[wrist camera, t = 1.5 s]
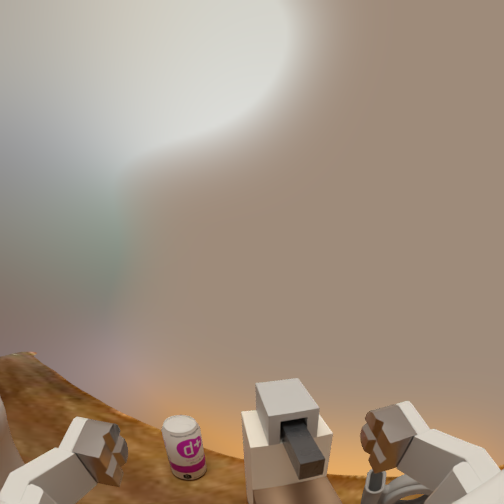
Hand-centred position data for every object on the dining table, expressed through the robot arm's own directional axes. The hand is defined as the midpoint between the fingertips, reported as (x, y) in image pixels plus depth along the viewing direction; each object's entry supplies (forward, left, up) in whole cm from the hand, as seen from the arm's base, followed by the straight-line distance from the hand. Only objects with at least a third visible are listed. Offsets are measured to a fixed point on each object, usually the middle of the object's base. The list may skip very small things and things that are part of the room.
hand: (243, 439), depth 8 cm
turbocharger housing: (+28, +16, -46) cm, 56 cm away
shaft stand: (+9, +29, -46) cm, 55 cm away
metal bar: (+9, +26, -22) cm, 35 cm away
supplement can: (-9, +44, -46) cm, 64 cm away
